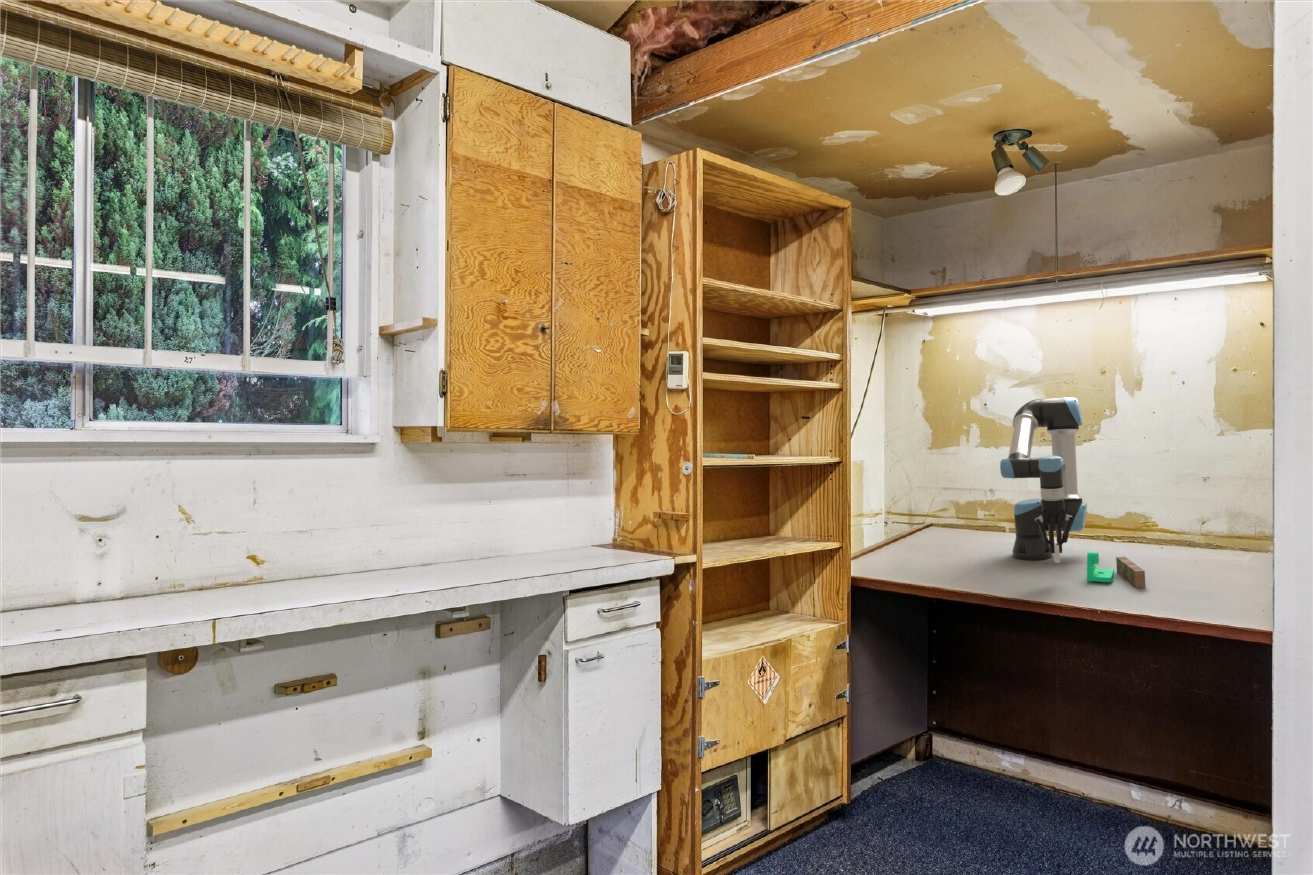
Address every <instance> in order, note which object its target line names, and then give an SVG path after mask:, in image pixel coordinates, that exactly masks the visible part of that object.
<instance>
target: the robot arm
mask: <svg viewBox="0 0 1313 875" xmlns="http://www.w3.org/2000/svg"><path fill="white" fill-rule="evenodd" d="M1013 416H1014V417H1013V419H1012V427H1013V432H1012V438H1011V443H1010V448H1009V453H1008V458H1002V459H1001V460H1000V464H999V467H1000V469H999V471H1000V475H1001V477H1002V478H1003V479H1013V480H1014V479H1039V483H1040V484H1039V485H1040V488H1039V490H1040V498H1030V499H1029V498H1028V499H1024V500H1020V501H1018V502H1016V503H1015V504H1014V506H1013V516H1014V527H1015V540H1014V543H1013V548H1012V557H1013V558H1015V559H1018V560H1025V561H1026V560H1027V561H1039V560H1040V561H1041V560H1047V559H1050V558H1052V557H1053V561H1054V562H1055V564H1057V563H1058V564H1059V563H1061V557H1060V556H1061V555H1060V554H1063V544H1066V543H1067V542H1068V539H1069V535H1070V533H1072V532H1081V531H1083V530H1084V529H1085V525H1086V519H1087V512H1088V510H1087V509H1088V508H1087V502H1085V501H1083V497H1082V496H1080V495H1079V493H1078V490H1079V489H1078V474H1077V473H1078V472H1077V470H1078V469H1077V452H1076V434H1077V433H1078V432H1079V430H1080V427H1079V426H1083V422H1084V421H1083V415H1082V410H1081V406H1080V402H1079V400H1078V399H1077V398H1076V397H1071V396H1068V397H1066V396H1062V397H1052V398H1050V397H1049V398H1038V399H1037V398H1036V399H1031V400H1029V401H1028V402H1026V403H1025V404H1023V405H1022V406H1021V407H1019V409H1018V410H1017V411H1016V412H1015V414H1014V415H1013ZM1038 428H1046V432H1048V434H1050V436H1051V454H1052V455H1044V456H1041V457H1031V453H1032V446H1033V440H1034V434H1035V431H1036V430H1037V429H1038ZM1047 532H1048V535H1047ZM1055 535H1056V543H1055Z"/></svg>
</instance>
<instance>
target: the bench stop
mask: <svg viewBox="0 0 1313 875" xmlns="http://www.w3.org/2000/svg"><path fill="white" fill-rule="evenodd" d="M1115 561H1116V562H1115V563H1116V574H1118V575H1120V577H1122V579H1124V580H1126V581H1127V582H1128V583H1129V584H1130V585H1132V586H1133V587H1134V588H1136V589H1142V588H1143V589H1144V588H1146V573H1145V572H1146V571H1145V570H1144V569H1143V568H1142V567H1140V566H1139V565H1137V564H1136V563H1134V561H1132V560H1130V559H1129V558H1127V557H1126V556H1116V557H1115Z"/></svg>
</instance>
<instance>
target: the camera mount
mask: <svg viewBox="0 0 1313 875" xmlns="http://www.w3.org/2000/svg"><path fill="white" fill-rule="evenodd" d="M1086 558H1087V560H1086V580H1087V582H1098V583H1099V582H1101V583H1113V582H1114V579H1115V569H1114V568H1096V565H1099V564H1100V554H1099V552H1098V551H1087V555H1086Z"/></svg>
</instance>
